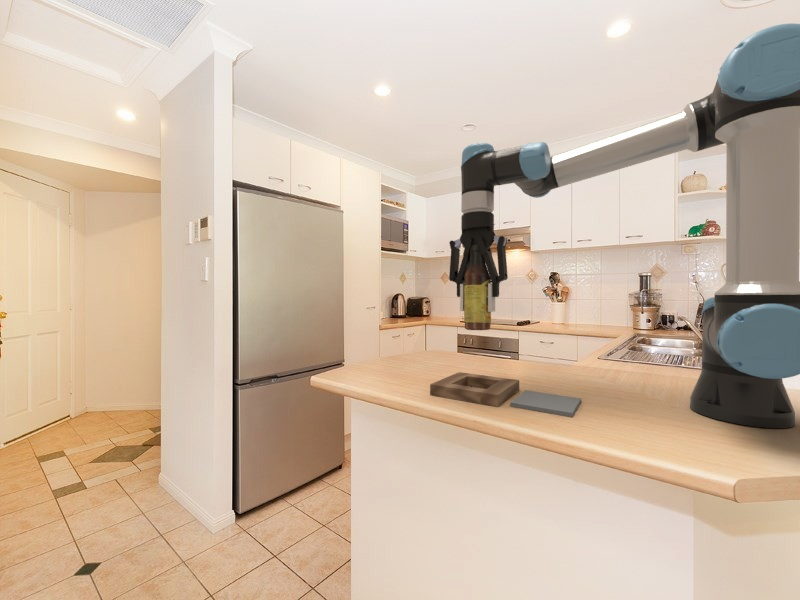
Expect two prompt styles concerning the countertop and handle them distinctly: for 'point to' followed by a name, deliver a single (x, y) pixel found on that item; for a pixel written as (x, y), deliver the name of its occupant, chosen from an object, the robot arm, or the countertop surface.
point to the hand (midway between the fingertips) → (477, 310)
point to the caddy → (459, 388)
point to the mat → (547, 403)
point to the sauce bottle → (476, 292)
